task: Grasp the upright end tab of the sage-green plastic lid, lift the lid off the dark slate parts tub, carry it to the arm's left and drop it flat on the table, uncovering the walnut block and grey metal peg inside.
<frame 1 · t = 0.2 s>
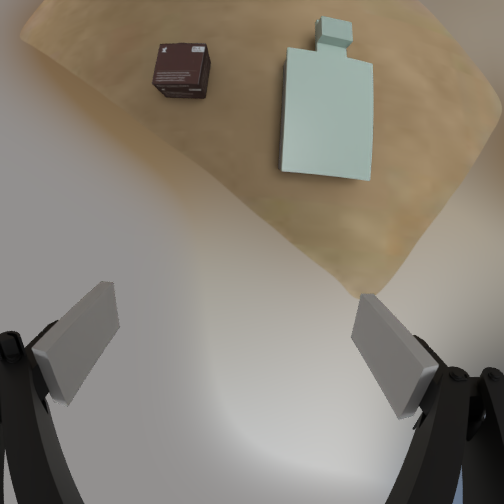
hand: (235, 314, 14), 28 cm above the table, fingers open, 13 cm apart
box: (188, 80, 35), on the table
lid: (329, 112, 32), point 5 cm above the table, touching tub
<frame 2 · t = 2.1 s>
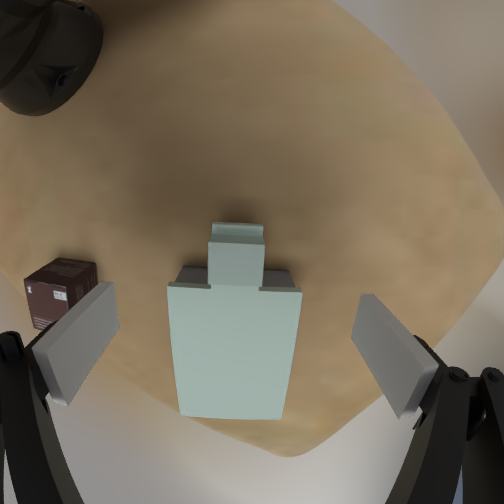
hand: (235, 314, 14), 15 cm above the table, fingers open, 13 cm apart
box: (79, 282, 30), on the table
tub: (233, 334, 32), on the table
lid: (232, 360, 27), point 5 cm above the table, touching tub
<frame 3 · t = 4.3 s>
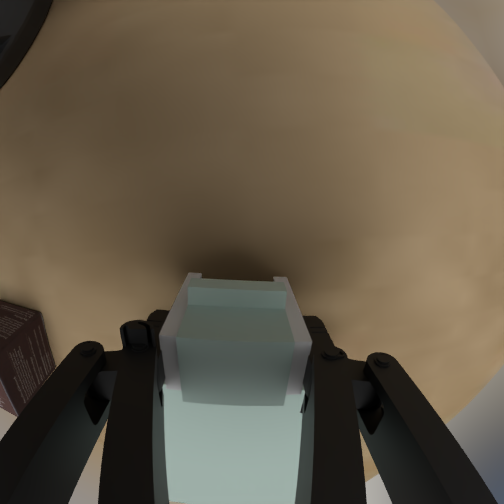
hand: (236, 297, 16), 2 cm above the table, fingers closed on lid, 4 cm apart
box: (27, 332, 19), on the table
lid: (231, 458, 16), point 5 cm above the table, touching gripper, tub
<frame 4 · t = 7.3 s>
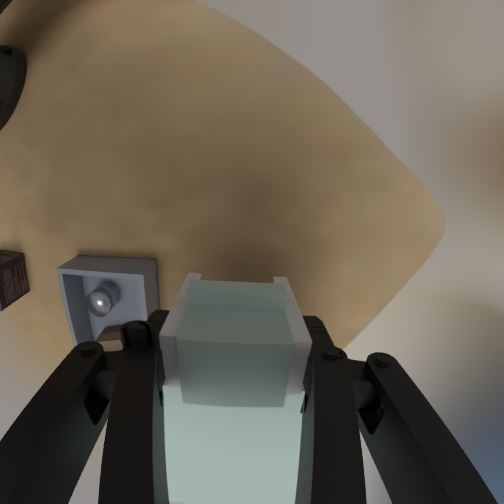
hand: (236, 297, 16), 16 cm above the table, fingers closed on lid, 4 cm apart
box: (15, 269, 32), on the table
tub: (121, 316, 34), on the table
walnut block: (123, 337, 34), point 1 cm above the table, touching tub
metal peg: (109, 293, 32), point 1 cm above the table, touching tub
lid: (231, 458, 16), point 19 cm above the table, touching gripper
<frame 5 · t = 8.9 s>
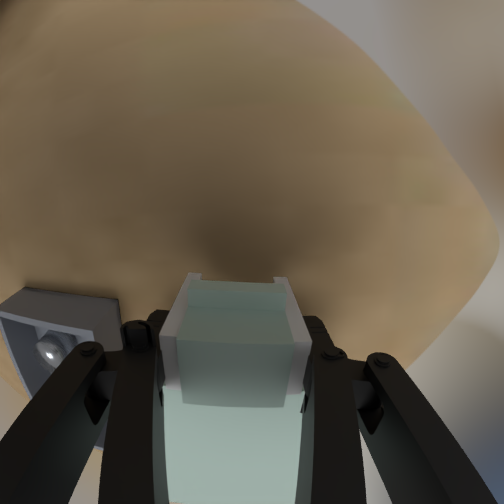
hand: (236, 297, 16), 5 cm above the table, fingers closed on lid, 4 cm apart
tub: (83, 364, 23), on the table
metal peg: (64, 338, 22), point 1 cm above the table, touching tub
lid: (231, 458, 16), point 8 cm above the table, touching gripper
when the fingers open (1 cm above the table, at t = 10.1 s): lid drops 5 cm, on the table.
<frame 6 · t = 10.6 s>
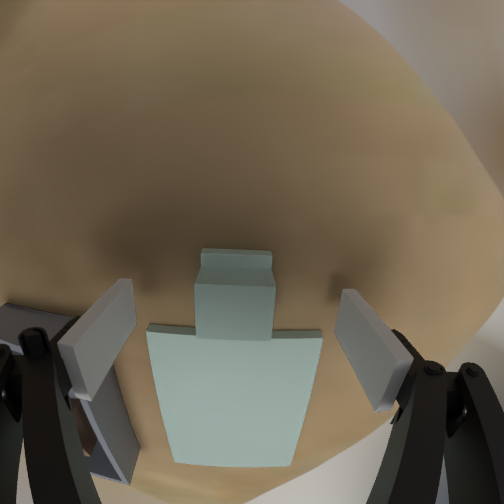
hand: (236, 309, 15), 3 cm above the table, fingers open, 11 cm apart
tub: (71, 387, 20), on the table
walnut block: (78, 412, 20), point 1 cm above the table, touching tub
lid: (232, 411, 21), on the table
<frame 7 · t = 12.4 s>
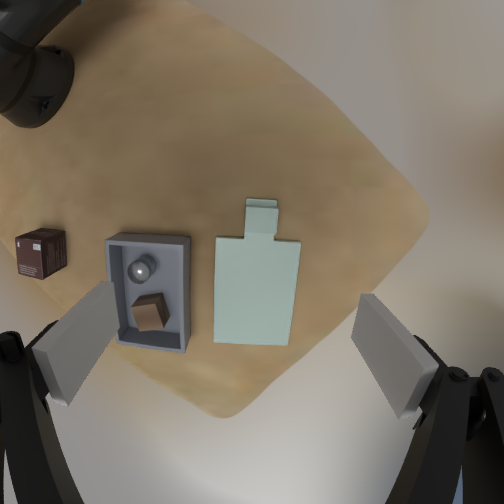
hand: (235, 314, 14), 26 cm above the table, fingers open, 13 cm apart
box: (54, 246, 40), on the table
tub: (154, 286, 41), on the table
walnut block: (154, 306, 42), point 1 cm above the table, touching tub
metal peg: (146, 265, 40), point 1 cm above the table, touching tub
lid: (254, 293, 42), on the table
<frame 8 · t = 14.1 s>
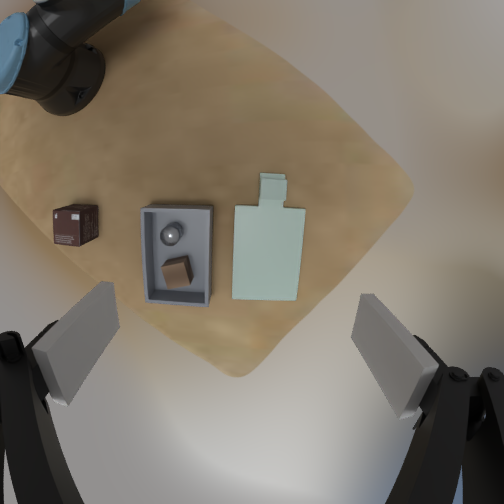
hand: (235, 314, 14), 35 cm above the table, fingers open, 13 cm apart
box: (86, 219, 47), on the table
tub: (180, 250, 49), on the table
walnut block: (180, 268, 49), point 1 cm above the table, touching tub
metal peg: (174, 231, 47), point 1 cm above the table, touching tub
lid: (267, 254, 50), on the table
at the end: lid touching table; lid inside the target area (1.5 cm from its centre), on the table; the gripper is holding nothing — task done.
